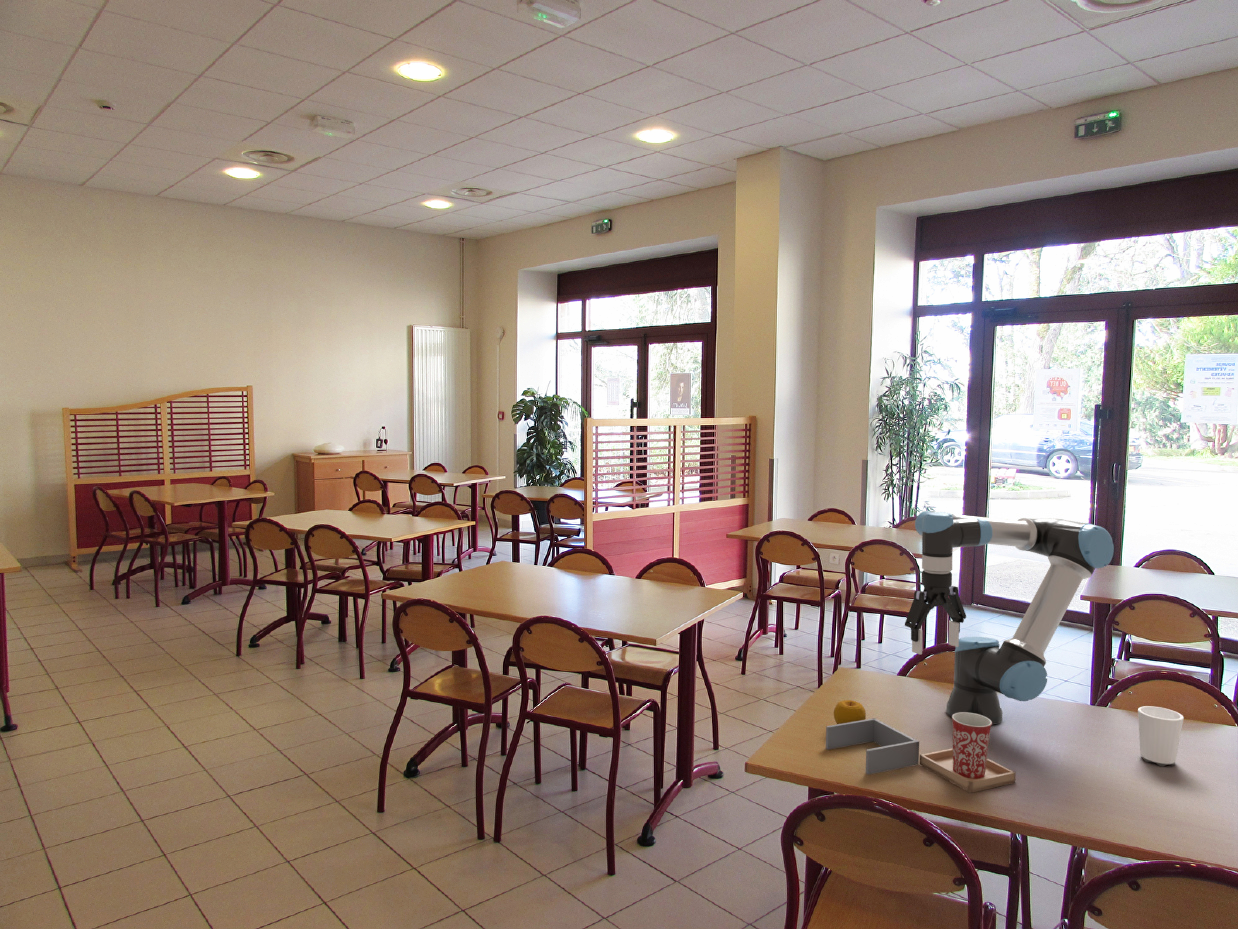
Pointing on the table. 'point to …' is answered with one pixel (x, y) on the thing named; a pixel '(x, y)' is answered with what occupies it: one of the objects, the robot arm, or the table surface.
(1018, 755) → the table surface
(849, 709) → the apple
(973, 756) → the mug
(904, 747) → the bay
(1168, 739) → the cup
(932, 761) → the tray
